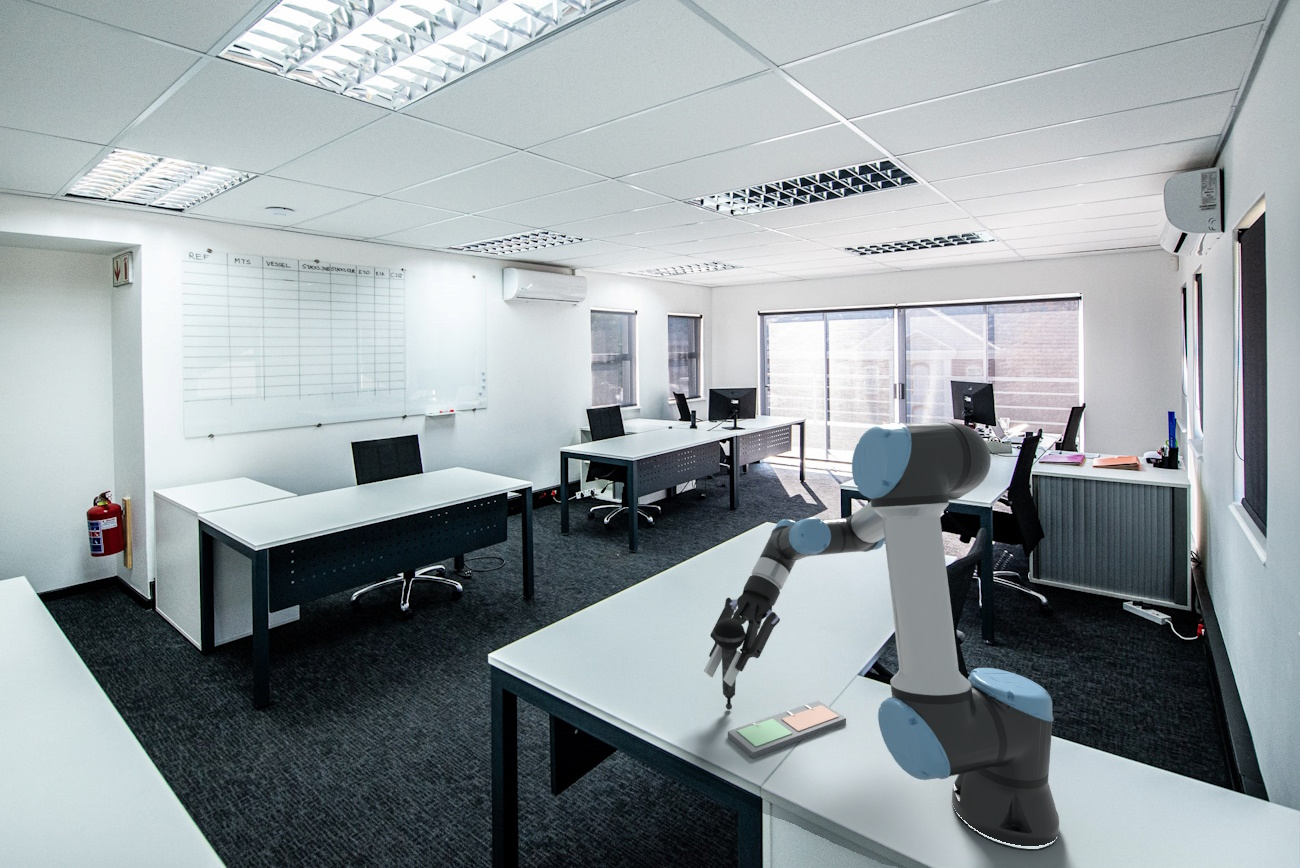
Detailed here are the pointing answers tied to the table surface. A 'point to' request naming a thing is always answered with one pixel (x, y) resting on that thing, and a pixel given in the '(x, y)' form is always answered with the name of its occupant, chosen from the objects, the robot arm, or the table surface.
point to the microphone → (728, 649)
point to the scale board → (785, 728)
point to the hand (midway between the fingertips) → (717, 678)
